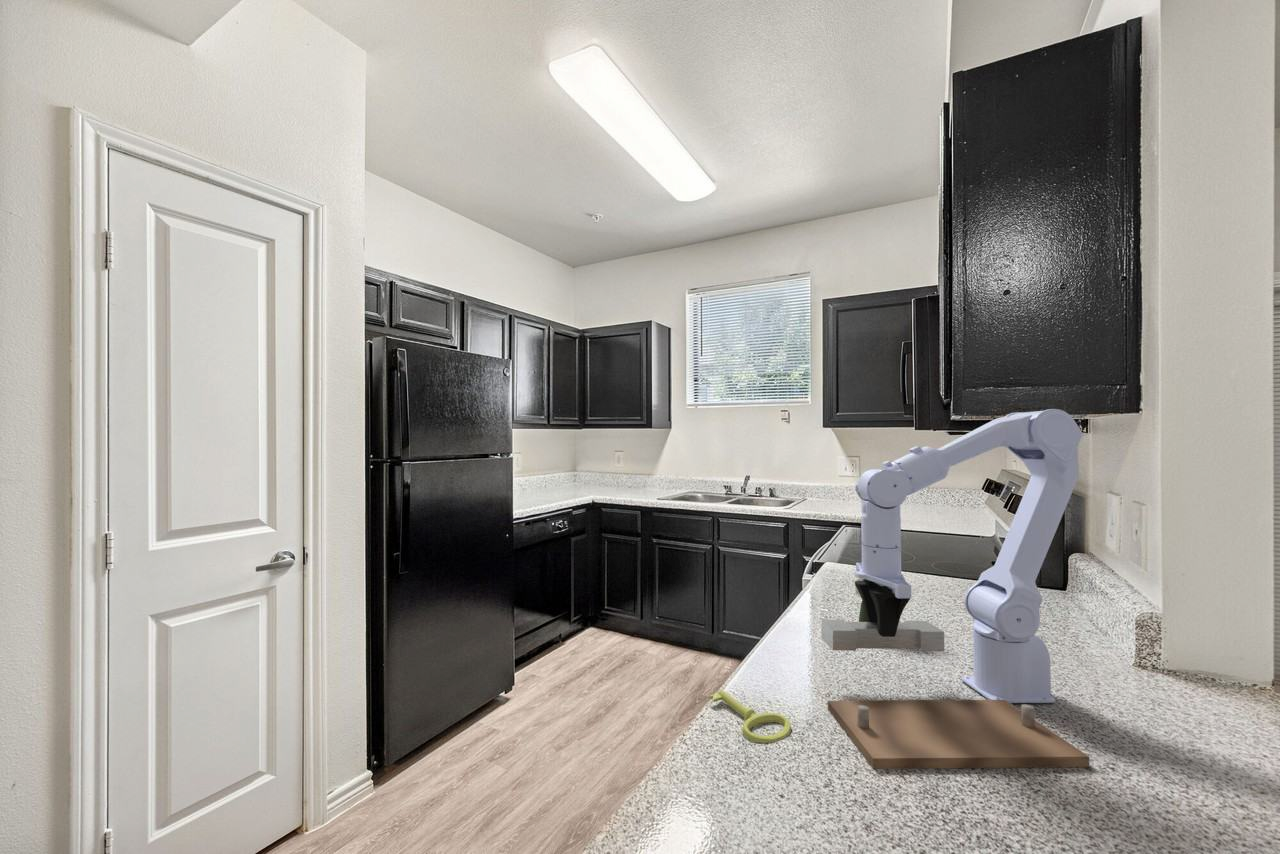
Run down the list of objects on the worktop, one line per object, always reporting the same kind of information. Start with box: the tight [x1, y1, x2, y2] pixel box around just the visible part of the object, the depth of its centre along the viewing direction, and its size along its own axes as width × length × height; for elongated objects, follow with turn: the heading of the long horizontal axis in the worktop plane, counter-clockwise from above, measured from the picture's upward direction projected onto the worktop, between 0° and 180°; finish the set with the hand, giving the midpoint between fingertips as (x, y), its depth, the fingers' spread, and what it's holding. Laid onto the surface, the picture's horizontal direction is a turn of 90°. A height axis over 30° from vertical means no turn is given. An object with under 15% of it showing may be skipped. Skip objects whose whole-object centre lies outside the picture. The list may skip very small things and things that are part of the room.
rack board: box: [827, 699, 1090, 770], centre depth 70 cm, size 26×14×4 cm, turn 91°
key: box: [708, 688, 792, 744], centre depth 73 cm, size 7×12×2 cm, turn 50°
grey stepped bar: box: [820, 619, 945, 652], centre depth 84 cm, size 17×5×3 cm, turn 91°
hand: (881, 631), depth 84 cm, fingers closed on grey stepped bar, 3 cm apart
